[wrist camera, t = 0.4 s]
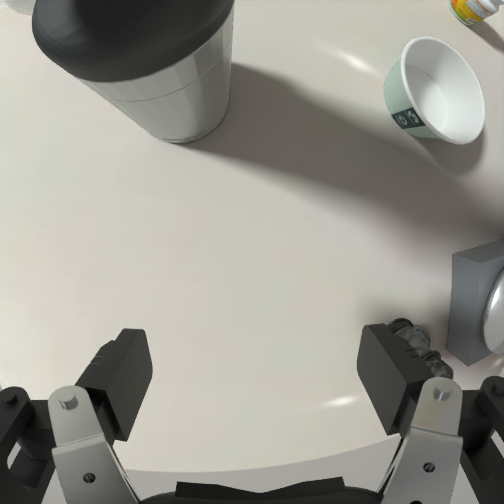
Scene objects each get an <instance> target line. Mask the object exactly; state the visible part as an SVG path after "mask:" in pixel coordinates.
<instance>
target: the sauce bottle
mask: <svg viewBox="0 0 504 504" xmlns="http://www.w3.org/2000/svg"><path fill="white" fill-rule="evenodd" d="M1 1H2V2H3V3H4V4H5V5H6V6H8V7H9V8H10V9H12V10H14V11H15V12H17V13H20V14H25V15H32V14H33V9H34V5H35V2H36V0H1Z"/></svg>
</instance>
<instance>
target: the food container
mask: <svg viewBox="0 0 504 504" xmlns="http://www.w3.org/2000/svg"><path fill="white" fill-rule="evenodd" d="M384 98H385V102H386V105H387V108H388V110H389V112H390V114H391V116H392V117H393V119H394V120H395V121H396V123H397V124H398V125H399V126H400V127H401V128H402V129H403V130H405V131H406V132H407V133H409V134H411V135H413V136H415V137H419V138H428V139H441V140H445V141H447V142H450V143H453V144H457V145H464V144H468V143H471V142H472V141H474V140H475V139H476V138H477V137H478V136H479V135H480V133H481V131H482V129H483V126H484V122H485V101H484V96H483V92H482V89H481V86H480V84H479V81H478V79H477V77H476V75H475V73H474V71H473V70H472V68H471V67H470V65H469V64H468V63H467V61H466V60H465V59H464V58H463V57H462V56H461V55H460V54H459V53H458V52H457V51H456V50H455V49H454V48H453V47H451V46H450V45H448V44H447V43H445V42H443V41H441V40H439V39H436V38H432V37H418V38H415V39H413V40H411V41H410V42H409V43H408V44H407V45H406V47H405V48H404V50H403V53H402V57H401V58H400V60H399V61H398V62H397V63H396V65H395V66H394V67H393V68H392V69H391V71H390V72H389V73H388V75H387V76H386V79H385V82H384Z"/></svg>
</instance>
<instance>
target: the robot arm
mask: <svg viewBox="0 0 504 504" xmlns="http://www.w3.org/2000/svg"><path fill="white" fill-rule="evenodd" d="M234 3H235V0H36V2H35V5H34V9H33V14H32V31H33V35H34V38H35V40H36V42H37V45H38V46H39V48H40V49H41V50H42V52H43V53H44V54H45V55H46V56H47V57H48V58H49V59H51V60H52V61H53V62H54V63H56V64H57V65H59V66H60V67H61V68H63V69H64V70H66V71H67V72H68V73H70V74H71V75H73V76H74V77H75V78H77V79H78V80H80V81H81V82H82V83H84V84H85V85H86V86H88V87H89V88H91V89H92V90H93V91H95V92H96V93H97V94H99V95H100V96H101V97H103V98H104V99H105V100H107V101H108V102H109V103H111V104H112V105H113V106H115V107H116V108H117V109H119V110H120V111H121V112H123V113H124V114H125V115H126V116H128V117H129V118H130V119H132V120H133V121H134V122H136V123H137V124H138V125H139V126H141V127H142V128H143V129H144V130H146V131H147V132H148V133H150V134H151V135H152V136H154V137H156V138H158V139H159V140H162V141H166V142H169V143H187V142H191V141H194V140H198V139H200V138H202V137H204V136H206V135H207V134H209V133H210V132H211V131H212V130H214V129H215V128H216V127H217V125H218V124H219V123H220V122H221V121H222V119H223V117H224V115H225V113H226V111H227V107H228V104H229V90H230V75H231V56H232V38H233V18H234ZM152 371H153V368H152V361H151V357H150V352H149V347H148V343H147V338H146V333H145V331H144V330H143V329H127V328H124V329H123V330H122V331H121V333H120V334H119V336H118V337H117V338H116V340H115V341H114V340H111V341H109V342H108V343H107V344H105V345H104V346H102V347H101V348H100V350H99V351H98V352H97V354H96V355H95V357H94V358H93V359H92V361H91V364H89V365H88V366H87V368H86V369H85V371H84V372H83V374H82V375H81V377H80V378H79V379H78V381H77V382H76V384H75V385H74V386H65V387H62V388H59V389H57V390H56V391H55V392H53V393H52V394H51V396H50V397H49V399H48V400H30V398H29V396H28V394H27V392H26V391H25V390H24V389H23V388H21V387H8V388H6V389H4V390H2V391H1V392H0V504H41V503H42V500H43V497H44V495H45V492H46V490H47V487H48V485H49V482H50V480H51V477H52V475H53V473H54V470H55V468H56V470H57V474H58V477H59V481H60V484H61V487H62V490H63V494H64V497H65V500H66V502H67V504H449V503H450V500H451V496H452V492H453V488H454V484H455V480H456V476H457V471H458V467H459V462H460V464H461V466H462V468H463V470H464V472H465V474H466V476H467V478H468V480H469V482H470V484H471V486H472V488H473V491H474V493H475V495H476V497H477V500H478V502H479V504H504V458H503V456H502V455H501V453H500V452H499V450H498V448H497V447H496V445H495V443H494V442H493V440H492V438H491V436H492V435H493V433H494V432H495V430H496V431H497V432H498V434H499V436H500V437H501V439H502V440H503V442H504V378H503V377H499V376H491V377H488V378H486V379H485V380H484V381H483V383H482V385H481V388H480V390H462V389H461V387H460V386H459V385H458V384H457V383H456V382H455V381H453V380H451V379H448V378H444V377H436V376H435V375H434V373H433V372H432V371H431V370H430V368H429V367H428V366H427V365H426V363H425V362H424V361H423V360H422V358H421V357H419V355H418V353H417V352H416V351H415V350H414V348H413V347H412V346H411V345H410V344H409V342H408V341H407V340H405V339H403V338H402V337H400V336H398V335H393V333H392V332H391V331H390V330H389V328H388V327H387V326H386V325H385V324H384V323H382V324H372V325H365V326H364V328H363V330H362V336H361V342H360V347H359V352H358V358H357V371H358V375H359V377H360V379H361V381H362V383H363V385H364V387H365V389H366V391H367V394H368V396H369V398H370V400H371V402H372V404H373V406H374V408H375V410H376V412H377V415H378V417H379V419H380V421H381V423H382V425H383V428H384V430H385V432H386V434H387V436H388V435H392V434H396V433H399V434H400V436H401V439H400V441H399V443H398V445H397V448H396V450H395V453H394V455H393V457H392V460H391V462H390V464H389V467H388V469H387V471H386V473H385V476H384V478H383V480H382V482H381V484H380V486H379V488H378V489H377V491H376V492H374V491H370V490H368V489H363V488H358V487H350V486H345V485H344V481H343V478H342V477H336V478H330V479H322V480H314V481H307V482H301V483H297V484H294V485H291V486H287V487H284V488H280V489H276V490H272V491H269V492H264V493H255V492H250V491H245V490H240V489H235V488H230V487H226V486H222V485H218V484H200V483H188V482H187V483H186V482H177V486H176V491H175V492H168V493H162V494H158V495H155V496H151V497H149V498H146V499H144V500H141V499H140V497H139V496H138V494H137V492H136V491H135V489H134V487H133V485H132V484H131V482H130V480H129V478H128V476H127V475H126V472H125V471H124V469H123V467H122V465H121V463H120V461H119V459H118V457H117V455H116V453H115V450H114V449H113V447H112V446H113V444H114V441H115V440H120V441H126V442H127V440H128V438H129V435H130V432H131V430H132V427H133V424H134V422H135V419H136V417H137V414H138V411H139V409H140V406H141V404H142V401H143V399H144V396H145V394H146V391H147V389H148V386H149V384H150V381H151V379H152ZM16 442H17V443H18V444H19V445H20V447H21V449H20V451H19V452H18V454H17V456H16V458H15V460H14V462H13V464H12V466H11V468H10V469H8V465H7V458H8V456H9V454H10V452H11V451H12V449H13V447H14V445H15V443H16Z"/></svg>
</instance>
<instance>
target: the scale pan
mask: <svg viewBox="0 0 504 504" xmlns="http://www.w3.org/2000/svg"><path fill="white" fill-rule="evenodd" d="M482 339H483V343H484V345H485V346H486V348H488V349H489V350H490V351H492V352H493V353H495V354H503V353H504V268H503V269H502V270H501V272H500V273H499V275H498V277H497V278H496V280H495V282H494V284H493V286H492V289H491V291H490V293H489V296H488V299H487V302H486V305H485V309H484V313H483V319H482Z"/></svg>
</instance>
